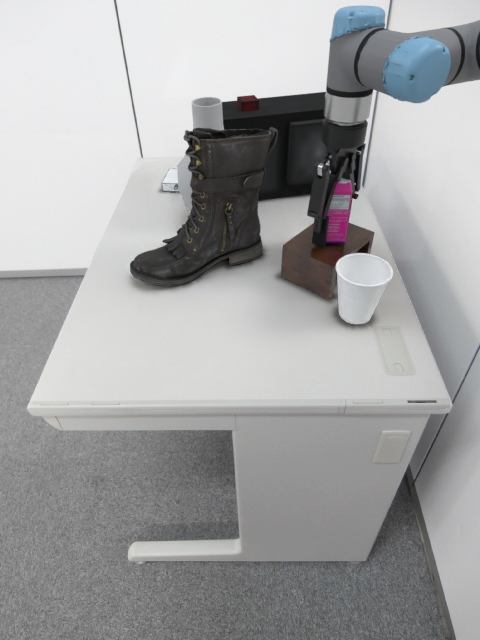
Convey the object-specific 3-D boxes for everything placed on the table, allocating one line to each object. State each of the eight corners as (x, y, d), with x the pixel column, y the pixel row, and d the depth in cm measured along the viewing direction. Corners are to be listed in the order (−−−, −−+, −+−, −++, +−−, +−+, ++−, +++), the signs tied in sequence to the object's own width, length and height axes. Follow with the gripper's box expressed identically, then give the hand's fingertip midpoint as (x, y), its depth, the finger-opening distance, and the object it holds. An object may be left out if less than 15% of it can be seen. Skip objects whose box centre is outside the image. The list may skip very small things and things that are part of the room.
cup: (386, 332, 81) (399, 285, 74) (332, 333, 81) (340, 286, 74) (374, 298, 88) (386, 252, 81) (325, 298, 88) (331, 252, 81)
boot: (125, 269, 97) (92, 136, 78) (257, 230, 108) (258, 104, 88) (141, 298, 90) (109, 159, 70) (281, 254, 100) (288, 121, 81)
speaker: (348, 192, 122) (363, 98, 105) (224, 209, 116) (219, 113, 100) (327, 169, 132) (337, 81, 116) (213, 184, 127) (207, 94, 111)
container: (174, 168, 135) (173, 160, 134) (210, 169, 134) (210, 161, 132) (157, 200, 121) (156, 191, 119) (198, 201, 120) (197, 192, 118)
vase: (250, 232, 107) (250, 112, 88) (183, 238, 106) (168, 117, 87) (242, 200, 119) (240, 88, 100) (181, 205, 118) (167, 92, 99)
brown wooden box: (368, 263, 97) (374, 232, 92) (328, 299, 88) (333, 267, 83) (322, 244, 103) (325, 213, 97) (280, 276, 94) (282, 245, 89)
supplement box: (314, 228, 92) (320, 176, 84) (343, 229, 91) (351, 177, 84) (315, 243, 88) (321, 190, 80) (345, 245, 87) (354, 190, 80)
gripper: (356, 99, 82) (340, 210, 97) (291, 131, 70) (285, 251, 86) (394, 106, 78) (371, 221, 93) (331, 142, 67) (317, 265, 82)
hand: (330, 235), depth 89 cm, fingers closed on supplement box, 8 cm apart
